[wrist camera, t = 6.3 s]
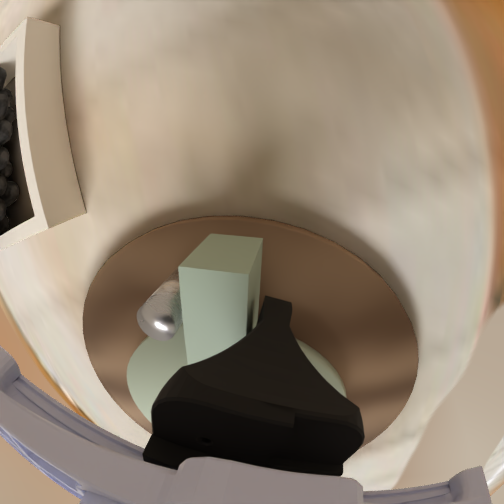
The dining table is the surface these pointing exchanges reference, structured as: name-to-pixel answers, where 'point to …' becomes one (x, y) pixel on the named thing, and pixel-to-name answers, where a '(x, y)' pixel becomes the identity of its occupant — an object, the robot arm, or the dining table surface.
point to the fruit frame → (41, 128)
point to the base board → (271, 284)
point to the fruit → (5, 154)
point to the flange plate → (210, 316)
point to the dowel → (162, 310)
